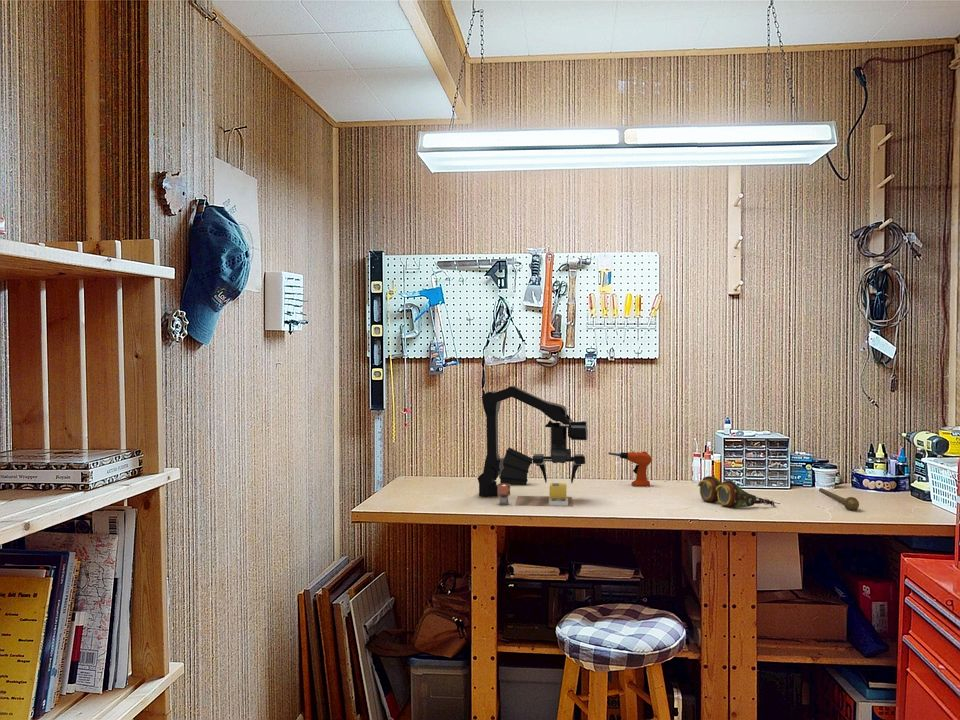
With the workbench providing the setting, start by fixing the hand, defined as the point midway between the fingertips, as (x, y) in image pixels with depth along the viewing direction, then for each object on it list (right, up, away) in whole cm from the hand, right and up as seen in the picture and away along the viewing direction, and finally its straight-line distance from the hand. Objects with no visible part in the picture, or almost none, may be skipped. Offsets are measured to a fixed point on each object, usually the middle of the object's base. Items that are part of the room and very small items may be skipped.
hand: (558, 482), depth 254 cm
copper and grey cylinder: (-20, -7, -8) cm, 23 cm away
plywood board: (-6, -7, -3) cm, 10 cm away
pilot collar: (-1, -6, -8) cm, 10 cm away
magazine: (-14, -7, +34) cm, 37 cm away
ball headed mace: (+101, -7, 0) cm, 101 cm away
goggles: (+64, -7, -2) cm, 64 cm away
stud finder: (0, -6, 0) cm, 6 cm away
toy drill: (+32, -7, +31) cm, 45 cm away
